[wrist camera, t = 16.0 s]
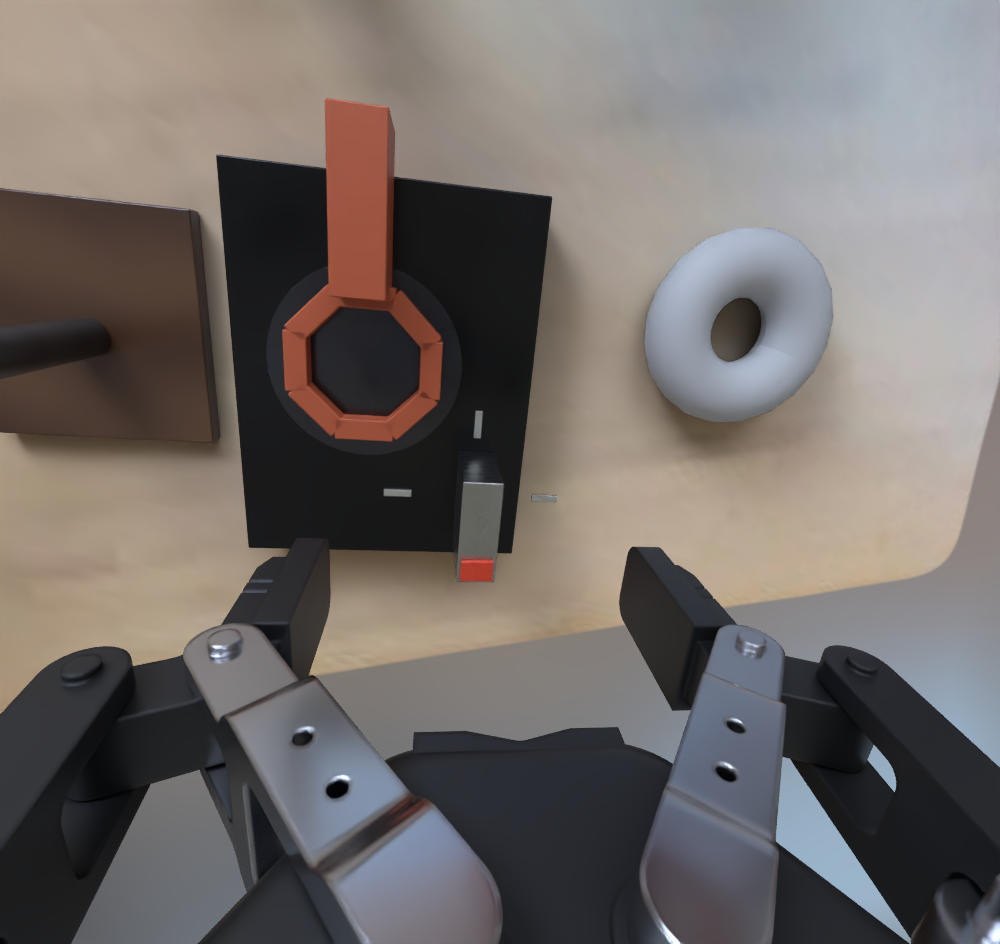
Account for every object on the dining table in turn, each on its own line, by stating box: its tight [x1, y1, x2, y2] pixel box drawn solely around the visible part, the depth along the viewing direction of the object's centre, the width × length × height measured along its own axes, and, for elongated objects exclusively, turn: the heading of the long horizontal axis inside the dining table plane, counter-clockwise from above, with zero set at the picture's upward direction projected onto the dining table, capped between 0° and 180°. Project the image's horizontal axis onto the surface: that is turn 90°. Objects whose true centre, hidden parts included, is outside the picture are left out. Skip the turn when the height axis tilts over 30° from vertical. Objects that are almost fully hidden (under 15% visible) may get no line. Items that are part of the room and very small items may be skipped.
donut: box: [644, 228, 833, 422], centre depth 27 cm, size 10×3×10 cm
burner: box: [266, 267, 462, 455], centre depth 24 cm, size 9×9×1 cm
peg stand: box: [0, 188, 220, 443], centre depth 19 cm, size 11×10×12 cm
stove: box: [216, 155, 557, 553], centre depth 27 cm, size 19×16×3 cm
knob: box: [453, 450, 504, 582], centre depth 25 cm, size 5×2×5 cm, turn 175°
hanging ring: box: [282, 98, 443, 442], centre depth 22 cm, size 13×7×3 cm, turn 175°
